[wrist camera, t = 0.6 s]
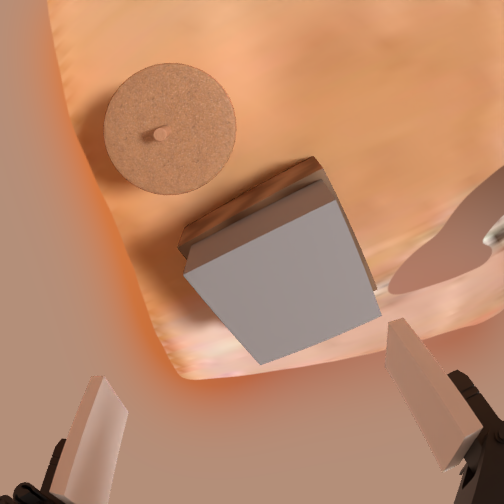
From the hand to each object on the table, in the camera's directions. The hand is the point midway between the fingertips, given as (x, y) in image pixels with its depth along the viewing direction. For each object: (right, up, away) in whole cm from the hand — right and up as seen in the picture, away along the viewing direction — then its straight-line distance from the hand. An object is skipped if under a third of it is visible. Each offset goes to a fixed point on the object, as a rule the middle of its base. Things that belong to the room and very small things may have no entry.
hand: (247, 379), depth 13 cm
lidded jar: (-6, +19, +16) cm, 25 cm away
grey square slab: (+4, +4, +19) cm, 20 cm away
